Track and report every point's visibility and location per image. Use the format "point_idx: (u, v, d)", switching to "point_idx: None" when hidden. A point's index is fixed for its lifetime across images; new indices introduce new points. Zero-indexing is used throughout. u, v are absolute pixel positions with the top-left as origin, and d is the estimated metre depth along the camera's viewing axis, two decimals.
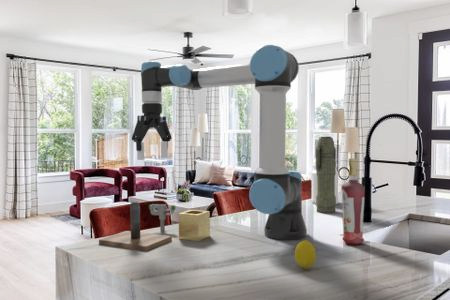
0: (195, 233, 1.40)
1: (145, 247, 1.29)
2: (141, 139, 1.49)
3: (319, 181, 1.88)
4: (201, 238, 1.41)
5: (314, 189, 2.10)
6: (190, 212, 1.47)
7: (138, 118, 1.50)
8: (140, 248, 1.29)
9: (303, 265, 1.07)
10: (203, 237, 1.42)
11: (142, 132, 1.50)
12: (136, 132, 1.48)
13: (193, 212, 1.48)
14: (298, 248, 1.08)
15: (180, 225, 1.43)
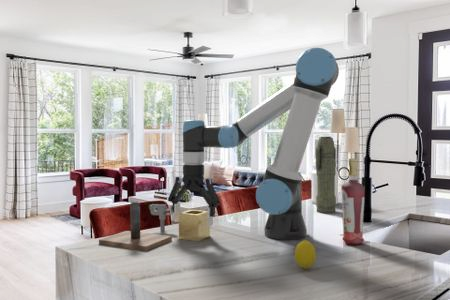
0: (195, 233, 1.40)
1: (145, 247, 1.29)
2: (173, 201, 1.47)
3: (319, 181, 1.88)
4: (201, 238, 1.41)
5: (314, 189, 2.10)
6: (190, 212, 1.47)
7: None
8: (140, 248, 1.29)
9: (303, 265, 1.07)
10: (203, 237, 1.42)
11: None
12: None
13: (193, 212, 1.48)
14: (298, 248, 1.08)
15: (180, 225, 1.43)
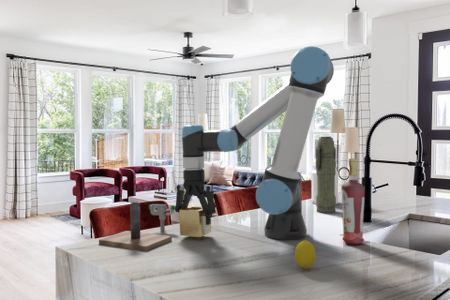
0: (196, 229, 1.40)
1: (145, 247, 1.29)
2: None
3: (319, 181, 1.88)
4: (202, 234, 1.41)
5: (314, 189, 2.10)
6: (191, 208, 1.47)
7: None
8: (140, 248, 1.29)
9: (303, 265, 1.07)
10: None
11: None
12: None
13: (194, 208, 1.48)
14: (298, 248, 1.08)
15: (181, 221, 1.42)
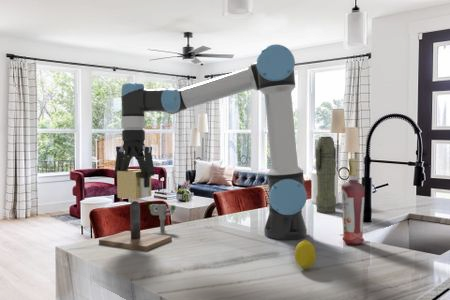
0: (133, 191, 1.34)
1: (145, 247, 1.29)
2: None
3: (319, 181, 1.88)
4: (140, 196, 1.35)
5: (314, 189, 2.10)
6: (131, 171, 1.41)
7: None
8: (140, 248, 1.29)
9: (303, 265, 1.07)
10: None
11: None
12: None
13: None
14: (298, 248, 1.08)
15: (118, 183, 1.36)
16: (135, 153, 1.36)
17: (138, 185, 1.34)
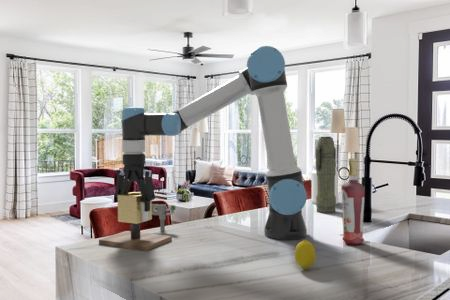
0: (133, 215, 1.34)
1: (145, 247, 1.29)
2: None
3: (319, 181, 1.88)
4: (140, 221, 1.35)
5: (314, 189, 2.10)
6: (131, 194, 1.41)
7: None
8: (140, 248, 1.29)
9: (303, 265, 1.07)
10: None
11: None
12: None
13: (135, 194, 1.42)
14: (298, 248, 1.08)
15: (119, 207, 1.37)
16: (135, 177, 1.36)
17: (138, 209, 1.35)
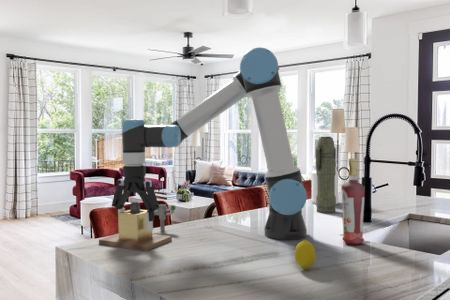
0: (134, 233, 1.34)
1: (145, 247, 1.29)
2: (117, 206, 1.41)
3: (319, 181, 1.88)
4: (141, 238, 1.36)
5: (314, 189, 2.10)
6: None
7: None
8: (140, 248, 1.29)
9: (303, 265, 1.07)
10: (144, 237, 1.37)
11: None
12: None
13: None
14: (298, 248, 1.08)
15: (120, 225, 1.37)
16: (137, 189, 1.36)
17: (139, 227, 1.35)
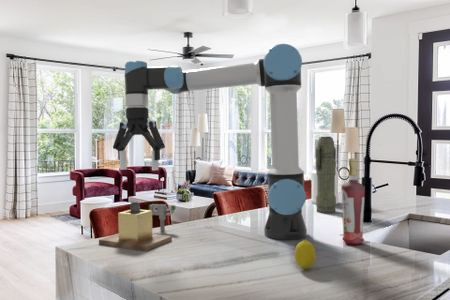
0: (134, 233, 1.34)
1: (145, 247, 1.29)
2: (118, 148, 1.41)
3: (319, 181, 1.88)
4: (141, 238, 1.36)
5: (314, 189, 2.10)
6: None
7: None
8: (140, 248, 1.29)
9: (303, 265, 1.07)
10: (144, 237, 1.37)
11: None
12: None
13: None
14: (298, 248, 1.08)
15: (120, 225, 1.37)
16: (140, 130, 1.36)
17: (139, 227, 1.35)
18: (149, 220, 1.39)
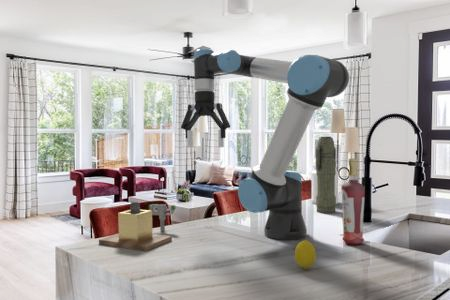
0: (134, 233, 1.34)
1: (145, 247, 1.29)
2: (186, 127, 1.57)
3: (319, 181, 1.88)
4: (141, 238, 1.36)
5: (314, 189, 2.10)
6: None
7: None
8: (140, 248, 1.29)
9: (303, 265, 1.07)
10: (144, 237, 1.37)
11: None
12: None
13: None
14: (298, 248, 1.08)
15: (120, 225, 1.37)
16: (208, 111, 1.52)
17: (139, 227, 1.35)
18: (149, 220, 1.39)
